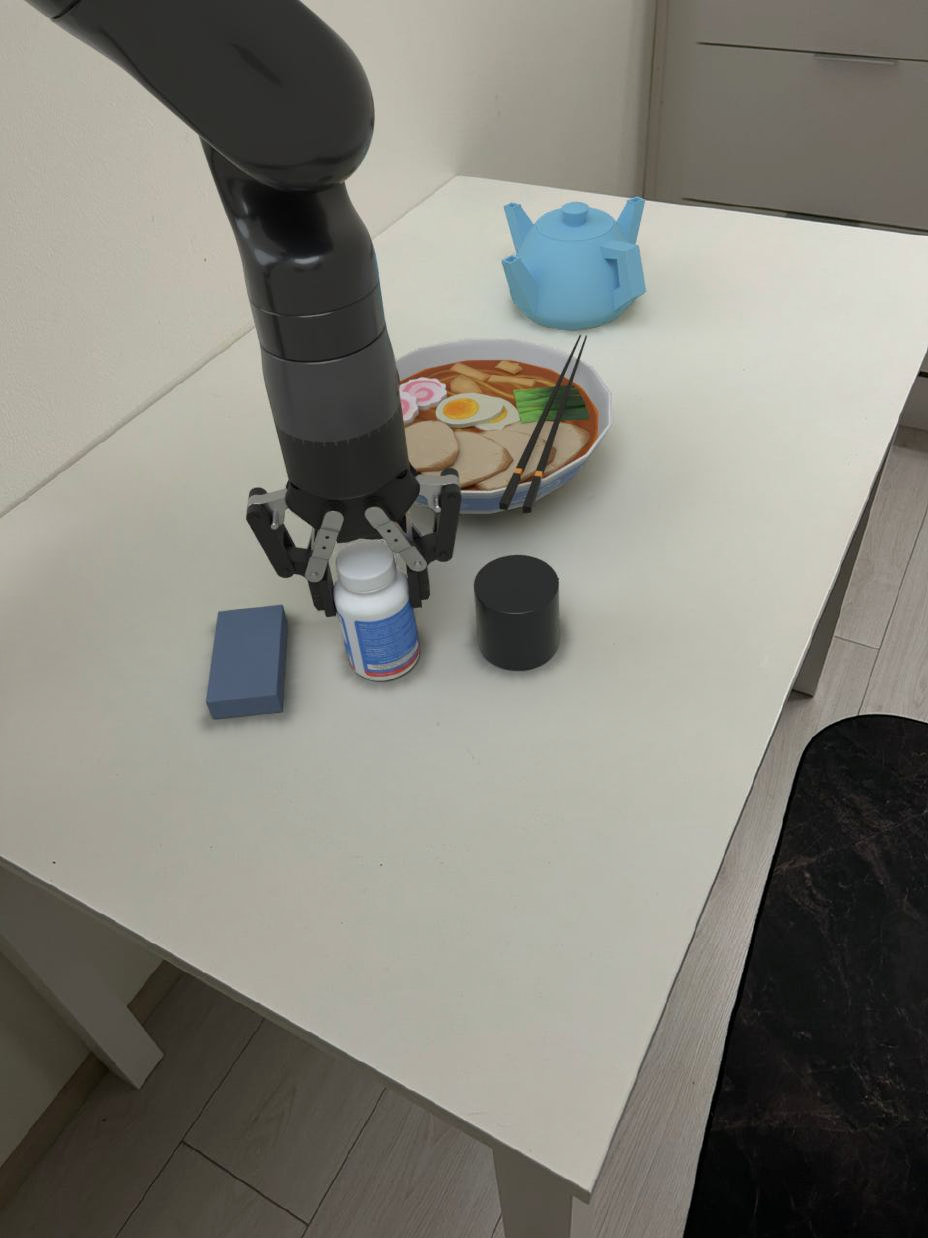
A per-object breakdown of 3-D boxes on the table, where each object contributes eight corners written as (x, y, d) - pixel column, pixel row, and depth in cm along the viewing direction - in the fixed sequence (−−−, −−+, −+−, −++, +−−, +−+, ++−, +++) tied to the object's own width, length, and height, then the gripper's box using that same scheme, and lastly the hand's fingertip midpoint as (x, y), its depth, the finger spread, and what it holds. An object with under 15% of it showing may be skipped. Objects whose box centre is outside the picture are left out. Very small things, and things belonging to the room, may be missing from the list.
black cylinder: (468, 662, 71) (462, 605, 67) (491, 606, 75) (487, 548, 71) (548, 677, 70) (547, 620, 66) (567, 619, 74) (567, 561, 69)
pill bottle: (434, 645, 73) (421, 548, 66) (392, 693, 70) (374, 597, 63) (376, 619, 75) (358, 523, 68) (333, 665, 72) (309, 569, 65)
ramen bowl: (409, 386, 98) (399, 311, 92) (635, 413, 92) (641, 335, 86) (307, 549, 81) (288, 471, 75) (574, 595, 75) (576, 514, 70)
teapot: (497, 340, 103) (492, 241, 95) (506, 272, 113) (503, 178, 105) (644, 338, 101) (651, 237, 93) (640, 270, 111) (646, 173, 103)
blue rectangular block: (282, 712, 69) (276, 694, 68) (212, 719, 69) (205, 702, 68) (288, 622, 76) (282, 604, 74) (224, 628, 76) (217, 611, 74)
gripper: (205, 450, 54) (270, 654, 66) (463, 423, 54) (480, 632, 66) (218, 377, 59) (276, 578, 71) (453, 353, 59) (471, 558, 71)
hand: (374, 603), depth 68 cm, fingers closed on pill bottle, 5 cm apart
